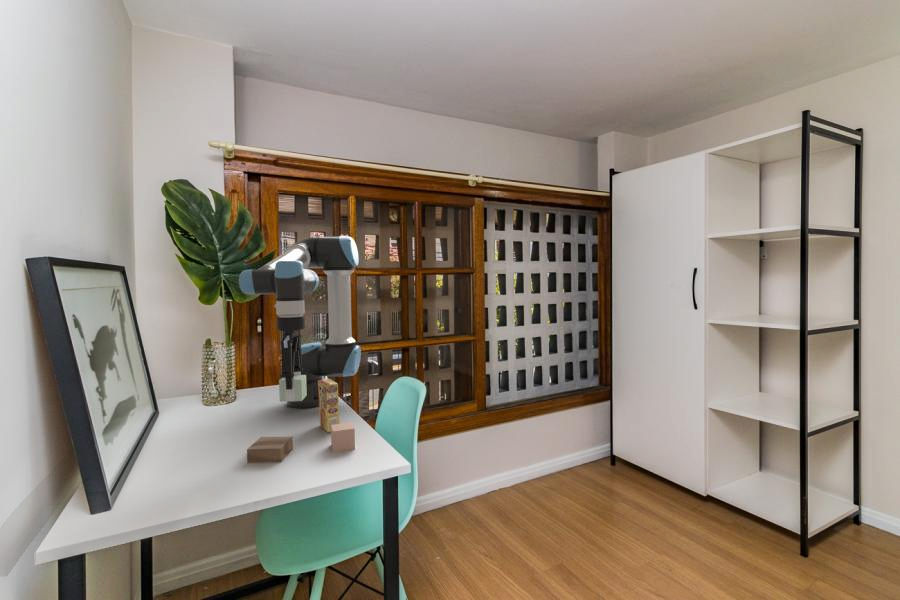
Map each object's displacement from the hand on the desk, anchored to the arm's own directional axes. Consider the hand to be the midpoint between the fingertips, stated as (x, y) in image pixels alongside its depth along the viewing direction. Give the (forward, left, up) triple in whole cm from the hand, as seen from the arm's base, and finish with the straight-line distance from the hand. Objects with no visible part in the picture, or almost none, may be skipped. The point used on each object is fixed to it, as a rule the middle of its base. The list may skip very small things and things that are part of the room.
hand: (293, 397), depth 126 cm
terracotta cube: (-1, +13, -15) cm, 20 cm away
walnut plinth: (+3, -6, -16) cm, 17 cm away
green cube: (0, 0, 0) cm, 0 cm away
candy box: (-18, +6, -15) cm, 24 cm away
